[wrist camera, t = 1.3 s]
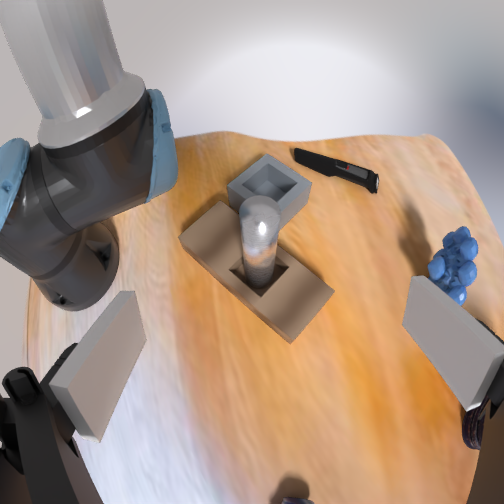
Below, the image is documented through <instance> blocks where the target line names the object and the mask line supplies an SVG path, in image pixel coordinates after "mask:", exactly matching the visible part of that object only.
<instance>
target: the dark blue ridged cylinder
mask: <svg viewBox="0 0 504 504" xmlns="http://www.w3.org/2000/svg"><path fill="white" fill-rule="evenodd" d="M489 399H490V398H489V397H488V396H487V395H485V397H484V399H483V401H482V402H481V404H480V406H478V407H475V408H473V409H471V410H469V411H466V414H465V416H464V420H463V425H462V436H463V440H464V443H465V444H466V446H467V447H469V448H471V449H478V450H480V448H481V442H482V436H483V429H484V422H485V421H484V419H485V414H484V415H483V417H482V418H481V420H478V419H479V416H480V414H481V413H482V411H483V410H484V408H485V406H486V405H487V403H488V401H489Z"/></svg>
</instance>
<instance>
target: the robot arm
mask: <svg viewBox="0 0 504 504" xmlns="http://www.w3.org/2000/svg"><path fill="white" fill-rule="evenodd" d="M0 23H1V26H2V28H3V31H4V34H5V36H6V39H7V42H8V44H9V46H10V49H11V51H12V54H13V56H14V58H15V60H16V63H17V65H18V67H19V69H20V72H21V74H22V76H23V78H24V80H25V82H26V84H27V86H28V88H29V90H30V92H31V94H32V96H33V98H34V100H35V102H36V104H37V106H38V108H39V110H40V112H41V114H42V121H41V124H40V128H39V131H38V140H39V143H38V144H37V145H35V146H33V147H30V145H29V143H28V142H27V141H25V140H24V139H22V138H17V139H16V138H15V139H12V140H10V141H8V142H7V143H5V144H4V145H3V146H2V147H0V257H2V258H3V259H5V260H6V261H8V262H9V263H11V264H12V265H13V266H15V267H16V268H18V269H20V270H21V271H23V272H24V273H26V274H28V275H29V276H30V277H32V279H33V280H34V282H35V283H36V285H37V286H38V288H39V289H40V290H41V292H42V293H43V295H44V296H45V297H46V299H47V300H48V301H50V302H51V303H52V304H54V305H56V306H58V307H59V308H61V309H64V310H67V311H79V310H83V309H86V308H88V307H90V306H92V305H93V304H95V303H96V302H97V301H99V300H100V299H101V298H102V297H103V296H104V294H105V293H106V292H107V290H108V289H109V288H110V286H111V284H112V282H113V280H114V278H115V275H116V272H117V269H118V263H119V250H118V245H117V242H116V240H115V238H114V236H113V235H112V233H111V232H110V231H109V230H108V229H107V227H106V226H105V225H104V224H102V223H101V221H103V220H105V219H108V218H110V217H112V216H115V215H117V214H119V213H122V212H124V211H126V210H129V209H131V208H133V207H136V206H138V205H141V204H143V203H144V204H145V203H147V202H149V201H150V200H151V199H153V198H155V197H157V196H159V195H161V194H163V193H165V192H167V191H169V190H170V189H172V187H173V186H174V185H175V184H176V182H177V178H178V161H177V153H176V147H175V141H174V137H173V132H172V130H171V128H170V127H171V124H170V119H169V113H168V109H167V106H166V102H165V100H164V98H163V95H162V93H161V91H159V90H157V89H154V90H152V89H148V90H146V88H145V84H144V81H143V80H142V78H140V77H139V76H136V75H133V74H131V73H128V72H125V71H124V70H123V68H122V65H121V62H120V59H119V55H118V52H117V49H116V45H115V42H114V39H113V35H112V32H111V28H110V25H109V21H108V18H107V14H106V10H105V7H104V3H103V0H0ZM402 325H403V327H404V328H405V329H406V330H407V332H408V333H409V334H410V335H411V337H412V338H413V339H414V340H415V342H416V343H417V344H418V346H419V347H420V348H421V350H422V351H423V352H424V353H425V355H426V356H427V357H428V359H429V360H430V361H431V363H432V364H433V365H434V367H435V368H436V369H437V371H438V372H439V374H440V375H441V376H442V378H443V379H444V380H445V382H446V383H447V385H448V386H449V387H450V389H451V390H452V392H453V393H454V394H455V396H456V397H457V399H458V400H459V402H460V403H461V404H462V406H463V407H464V409H465V410H466V411H469V410H471V409H473V408H475V407H478V406H480V404H481V402H482V401H483V399H484V397H485V395H487V396H488V397H489V398H490V399H489V401H488V403H487V405H486V406H485V408H484V410H483V411H482V413H481V414H480V416H479V419H478V420H481V418H482V417H483V415H484V414H485V419H484V421H485V422H484V429H483V436H482V442H481V448H480V453H479V458H478V462H477V467H476V471H475V475H474V479H473V483H472V487H471V490H470V494H469V497H468V500H467V503H466V504H504V341H503V340H502V339H501V338H499V337H498V336H497V335H495V333H494V332H493V331H492V330H490V328H489V327H488V326H486V325H485V324H484V323H483V322H481V321H479V320H478V319H476V318H474V317H473V316H472V315H470V314H469V313H468V312H467V311H466V310H465V309H464V308H462V307H461V306H460V305H459V304H458V303H457V302H455V301H454V300H453V299H452V298H451V297H449V296H448V295H447V294H446V293H445V292H443V291H442V290H441V289H440V288H439V287H437V286H436V285H435V284H434V283H432V282H431V281H430V280H429V279H427V278H426V277H425V276H424V275H422V276H412V277H411V282H410V288H409V293H408V299H407V304H406V309H405V314H404V318H403V323H402ZM146 340H147V339H146V336H145V332H144V328H143V324H142V320H141V316H140V311H139V307H138V303H137V298H136V294H135V291H120V292H119V293H118V295H117V296H116V297H115V298H114V299H113V301H112V302H111V303H110V304H109V305H108V307H107V308H106V309H105V310H104V312H103V313H102V314H101V315H100V316H99V318H98V319H97V320H96V321H95V323H94V324H93V325H92V327H91V328H90V329H89V330H88V332H87V333H86V334H85V335H84V337H83V338H82V339H81V341H80V342H79V343H74V344H72V345H71V346H69V347H68V348H67V349H65V350H64V352H63V353H62V354H61V356H60V357H59V359H57V361H56V362H55V363H54V365H53V366H52V367H51V369H50V370H49V371H48V373H47V374H46V375H45V377H44V378H43V379H42V381H41V382H40V384H39V382H38V380H37V378H36V376H35V375H34V373H33V371H32V370H31V369H30V368H28V367H19V368H16V369H13V370H11V371H10V372H9V373H7V374H6V376H5V377H4V379H3V381H2V385H3V387H4V388H5V390H6V392H7V393H8V395H9V396H10V398H3V397H2V396H1V395H0V441H1V442H2V447H1V448H0V504H104V503H103V501H102V499H101V498H100V496H99V494H98V492H97V490H96V488H95V485H94V483H93V481H92V479H91V477H90V475H89V473H88V470H87V468H86V466H85V463H84V461H83V459H82V456H81V454H80V451H79V449H78V446H77V443H76V441H75V440H74V438H73V437H72V435H73V433H74V431H75V429H76V430H77V432H78V433H79V435H80V436H81V438H82V439H85V440H89V441H93V442H97V443H100V442H101V440H102V437H103V435H104V433H105V430H106V428H107V425H108V423H109V421H110V418H111V416H112V414H113V412H114V409H115V407H116V405H117V402H118V400H119V398H120V396H121V394H122V391H123V389H124V387H125V385H126V383H127V380H128V378H129V376H130V374H131V372H132V370H133V367H134V365H135V363H136V361H137V359H138V357H139V355H140V353H141V351H142V349H143V347H144V344H145V342H146Z"/></svg>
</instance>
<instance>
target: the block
mask: <svg viewBox="0 0 504 504" xmlns="http://www.w3.org/2000/svg"><path fill="white" fill-rule="evenodd" d="M311 185H312V182H310V181H309V180H307V179H306V178H304V177H303V176H301V175H300V174H298V173H297V172H295V171H294V170H292V169H291V168H289V167H287V166H286V165H284V164H283V163H281V162H280V161H278V160H277V159H275V158H273V157H272V156H270V155H269V154H266V155H264V156H263V157H262V158H260V159H259V160H258V161H257V162H255V163H254V164H253V165H251V166H250V167H249V168H248V169H246V170H245V171H244V172H243V173H241V174H240V175H239V176H238V177H236V178H235V179H234V180H233V181H232V182H230V183H229V184H228V185H227V190H228V197H229V205H230V206H231V207H232V208H233V209H235V210H236V211H237V212H239V210H240V206H241V205H242V203H243V202H244V201H245V200H246V199H248V198H250V197H253V196H258V195H262V196H267V197H270V198H272V199H273V200H275V201H276V202H277V203H278V205H279V207H280V210H281V216H280V224H279V230H280V229H281V228H282V227H283V226H284V225H285V224H287V223H288V222H289V221H290V220H291V219H292V218H293V217H294V216H295V215H296V214H297V213H298V212H299V211H300V210H301V209H302V208H303V207H304V206H305V205H306V204H307V202H308V198H309V193H310V189H311Z"/></svg>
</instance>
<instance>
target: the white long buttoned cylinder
mask: <svg viewBox="0 0 504 504" xmlns="http://www.w3.org/2000/svg"><path fill="white" fill-rule="evenodd" d="M282 504H315V503H314V502H313V501H311V500H307V499H301V498H292V497H286V498H283V501H282Z"/></svg>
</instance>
